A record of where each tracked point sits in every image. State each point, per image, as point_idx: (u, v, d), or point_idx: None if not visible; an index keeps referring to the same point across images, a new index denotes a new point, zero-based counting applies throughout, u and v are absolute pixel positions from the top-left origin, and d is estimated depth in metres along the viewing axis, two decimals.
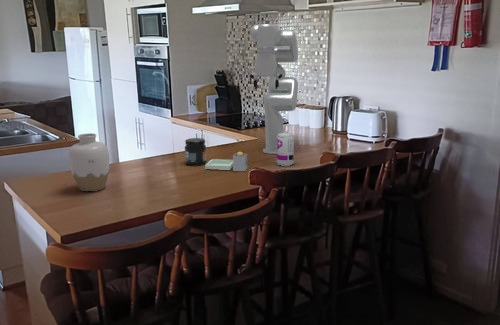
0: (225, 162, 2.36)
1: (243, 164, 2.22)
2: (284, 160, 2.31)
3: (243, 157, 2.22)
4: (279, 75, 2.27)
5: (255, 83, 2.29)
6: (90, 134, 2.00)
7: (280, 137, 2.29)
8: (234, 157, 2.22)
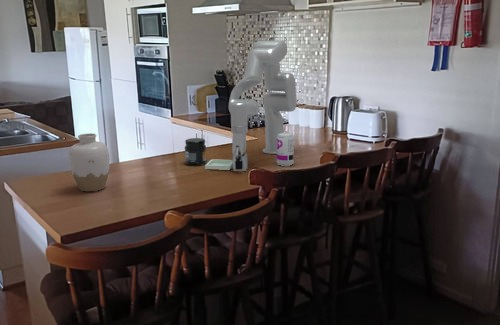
0: (225, 162, 2.36)
1: (243, 164, 2.22)
2: (284, 160, 2.31)
3: (243, 157, 2.22)
4: (243, 152, 2.29)
5: None
6: (90, 134, 2.00)
7: (280, 137, 2.29)
8: (234, 157, 2.22)
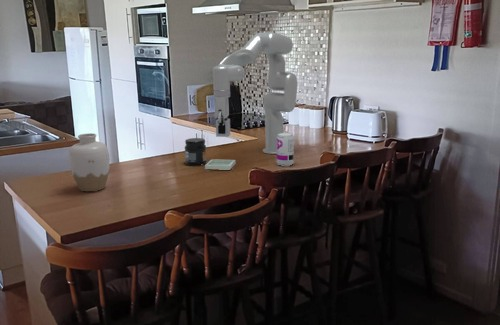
0: (225, 162, 2.36)
1: (226, 128, 2.23)
2: (284, 160, 2.31)
3: (226, 121, 2.22)
4: (226, 117, 2.30)
5: None
6: (90, 134, 2.00)
7: (280, 137, 2.29)
8: (217, 121, 2.23)
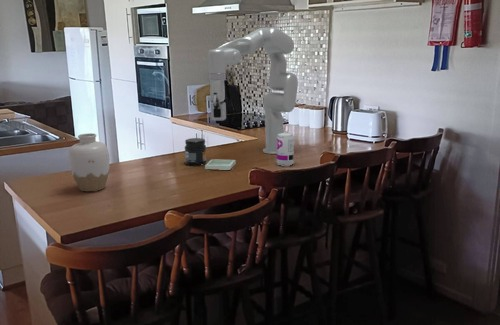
0: (225, 162, 2.36)
1: (221, 112, 2.22)
2: (284, 160, 2.31)
3: (221, 105, 2.22)
4: (222, 101, 2.29)
5: (220, 111, 2.22)
6: (90, 134, 2.00)
7: (280, 137, 2.29)
8: (212, 105, 2.22)
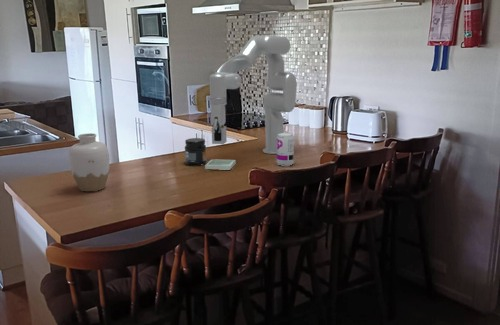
0: (225, 162, 2.36)
1: (222, 136, 2.25)
2: (284, 160, 2.31)
3: (222, 129, 2.24)
4: None
5: (220, 135, 2.25)
6: (90, 134, 2.00)
7: (280, 137, 2.29)
8: (213, 129, 2.25)
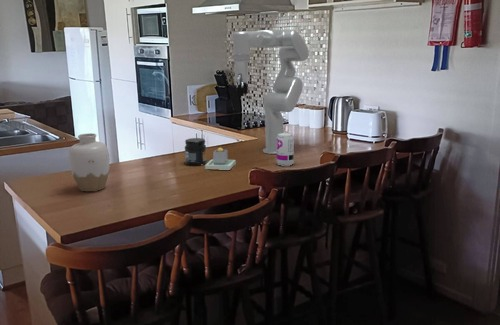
0: None
1: (223, 160, 2.28)
2: (284, 160, 2.31)
3: (223, 153, 2.27)
4: None
5: (243, 90, 2.28)
6: (90, 134, 2.00)
7: (280, 137, 2.29)
8: (214, 153, 2.28)
